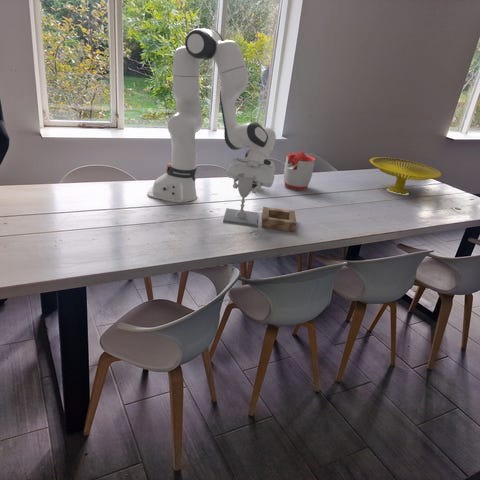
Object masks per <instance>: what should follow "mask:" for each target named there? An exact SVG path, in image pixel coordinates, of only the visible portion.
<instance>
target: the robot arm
mask: <svg viewBox="0 0 480 480" xmlns="http://www.w3.org/2000/svg"><path fill="white" fill-rule="evenodd" d="M207 60H213V61H214V62H215V64H216V67H217V69H218V74H219V77H220V84H221V85H220V92H219V102H220V103H219V104H220V109H221V115H222V122H223V127H224V128H223V129H224V131H223V132H224V141H225V144H226V145H227V146H228V148H230V149H231V150H233V151H237V150H241V149H244V148H248V149H249V150H250V152H249V154H248V156H247V158H246V160H245V159H241V158H238V157H237V158H234V159H232V161H231V162H230V165H229V166H228V167H227V170H226V175H227V176H228V178H230V179H232V180H233V185H232V187H233V189H238V179H239V177H238V174H240V173H245V174H244V175H243V178H253V177H254V176H255V178H254V179H253V184H257V186H256V187H255V188H252V189H251V193H252V194H256V193H257V191H259V190H260V189H261V188H262V187H266V188H271V187H272V186H273V184H274V181H275V173H276V166H275V163H274V161H271V160H270V159H269V157H270V155H271V154H272V152H273V150H274V147H275V143H276V138H277V135H276V133H275V131H274V130H273V129H272V128H270V127H267V126H262V125H261V124H260V123H258V122H257V121H249V122H244V123H243V124H239V123H238V117H237V112H236V101H237V100H238V98H239V96H240V95H241V94H242V93H243V92H244V91H245V89H246V88H247V86H248V84H249V72H248V69H247V65H246V60H245V59H244V55H243V53H242V51H241V48H240V46H239V44H238V43H237V41H235V40H232V39H226V40H224V38H223V37H222V35H221V33H219V31H217V30H215V29H210V28H194V29H192V30H191V31H189V32H188V33H187V34H186V37H185V40H184V45H183V46H180V47H177V48H176V49H175V51H174V54H173V63H172V95H173V99H174V100H175V105H176V110H177V111H176V113H174V114H173V115H172V116H171V117H170V119H169V121H168V123H167V130H168V133H169V135H170V143H171V144H170V145H171V158H170V159H171V163H170V162H169V163H168V164H167V166H166V167H165V169H166V171H165V172H166V173H164V174H162V175H160V176H159V177H157V178H156V179H155V180H154V182H153V185H152V187H150V188H149V189H148V191H147V196H148V197H149V198H154V199H158V200H162V201H168V202H172V203H178V204H179V203H183V202H191V201H194V200H196V199H197V197H198V195H197V190H196V180H197V173H198V172H197V170H198V169H197V155H198V149H197V145H196V134H197V132H200V130H201V129H202V127H203V124H204V117H203V114H202V111H203V110H202V105H201V100H200V96H201V95H200V65H201V64H202V61H207Z"/></svg>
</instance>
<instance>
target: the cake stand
mask: <svg viewBox="0 0 480 480" xmlns="http://www.w3.org/2000/svg"><path fill="white" fill-rule="evenodd" d="M369 163H370V164H372V166H374V167H375V168H377V169H378V170H379V171H381V172H382V173H384V174H387V175H389V176H391V177H392V176H393V177H395V178H396V180H395V184H394V185H392V186H388V189H389V190H390V191H393V192H396V193H401V194H406V193H409V192H410V191H408V190H407V189H406V188H404V187H405V184H406V182H407V180H410V181H419V182H420V181H427V180H433V179H436V178H437V179H438V178H441V177H442V172H441V171H440V170H438V169H436V168H434V167H432V166H429V165H426V164H422V163H420V162H416V161H411V160H408V159H402V158H396V157H393V158H392V157H387V156H386V157H384V156H383V157H379V156H378V157H372V158H370V159H369Z"/></svg>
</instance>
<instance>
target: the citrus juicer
mask: <svg viewBox="0 0 480 480" xmlns="http://www.w3.org/2000/svg"><path fill="white" fill-rule="evenodd" d="M285 158H286V159H285V163H284V170H283V183H284V185H285V187H286V188H288V189H291V190H295V191H305V190H306V189H307V188H308V187H309V184H310V182H311V180H312V176H313V172H314V167H315V162H316V158H315V157H313V156H311V155H309V154H305V152H304V151H302V150H301V151H299V152H298V153H297V152H289V153H287V154H286V157H285Z"/></svg>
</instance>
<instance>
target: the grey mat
mask: <svg viewBox="0 0 480 480" xmlns="http://www.w3.org/2000/svg"><path fill="white" fill-rule="evenodd" d="M238 210H239V209H234V208H228V207H227V208H226V209H225V213H224V216H223V218H222V219H223V221H222V223H225V224H232V225H233V224H234V225H239V226H241V225H242V226H248V227H256V228H257V226H258V216H259V215H258V214H259V213H258V211H257V212H256V211H249V210H244V211H245V212H246V215H247V218H238V217H236V216H235V215H236V213H237V211H238Z"/></svg>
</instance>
